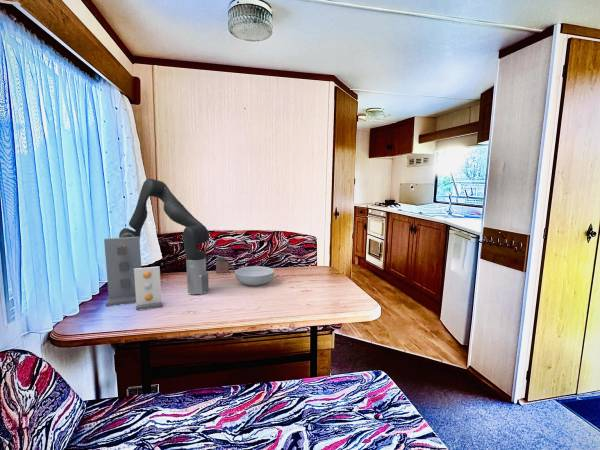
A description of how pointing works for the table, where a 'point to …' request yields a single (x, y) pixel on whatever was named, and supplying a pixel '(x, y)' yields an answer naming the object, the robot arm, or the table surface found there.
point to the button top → (121, 250)
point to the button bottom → (125, 283)
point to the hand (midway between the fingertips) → (123, 247)
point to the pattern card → (147, 287)
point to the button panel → (115, 275)
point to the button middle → (123, 266)
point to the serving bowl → (254, 275)
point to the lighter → (222, 265)
